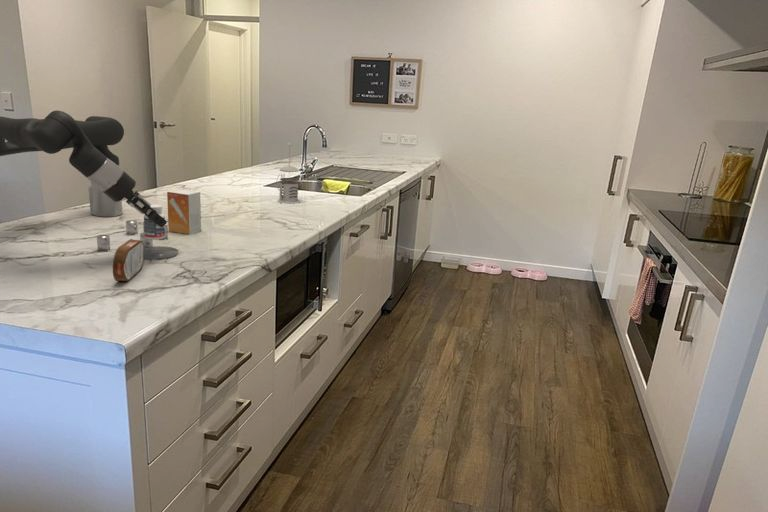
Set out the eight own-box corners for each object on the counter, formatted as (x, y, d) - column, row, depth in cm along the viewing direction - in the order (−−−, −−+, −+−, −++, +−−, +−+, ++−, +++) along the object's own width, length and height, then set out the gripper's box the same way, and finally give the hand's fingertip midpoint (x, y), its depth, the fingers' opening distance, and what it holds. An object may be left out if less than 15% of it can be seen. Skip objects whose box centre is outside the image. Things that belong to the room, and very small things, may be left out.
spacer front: (154, 239, 168) (154, 226, 167) (159, 236, 171) (159, 224, 170) (164, 240, 168) (164, 227, 167) (169, 237, 171) (169, 225, 170)
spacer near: (95, 251, 153) (94, 237, 152) (102, 248, 156) (101, 234, 155) (106, 252, 153) (105, 238, 152) (112, 249, 156) (111, 235, 155)
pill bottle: (158, 240, 149) (156, 208, 147) (140, 238, 150) (139, 206, 148) (169, 236, 154) (168, 205, 152) (152, 234, 155) (150, 203, 153)
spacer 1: (124, 234, 171) (123, 221, 170) (130, 232, 174) (129, 219, 173) (134, 235, 171) (133, 222, 169) (139, 233, 174) (139, 220, 173)
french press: (305, 202, 239) (306, 143, 232) (286, 205, 229) (287, 144, 222) (287, 198, 244) (288, 140, 237) (269, 201, 234) (269, 141, 227)
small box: (168, 231, 178) (166, 191, 174) (180, 227, 183) (179, 188, 180) (189, 235, 175) (188, 194, 172) (201, 230, 181) (200, 191, 178)
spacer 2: (138, 248, 158) (137, 234, 157) (144, 245, 161) (143, 232, 160) (149, 249, 158) (148, 235, 157) (154, 246, 161) (154, 233, 160)
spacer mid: (141, 236, 171) (140, 223, 169) (146, 233, 174) (146, 221, 173) (151, 236, 170) (150, 224, 169) (156, 234, 173) (156, 222, 172)
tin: (134, 266, 143) (132, 234, 140) (147, 267, 143) (145, 235, 141) (112, 286, 128) (109, 251, 126) (126, 286, 129) (124, 251, 126)
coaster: (127, 257, 149) (127, 255, 149) (148, 246, 160) (148, 244, 160) (166, 261, 148) (166, 259, 148) (185, 250, 159) (185, 248, 159)
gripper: (96, 185, 147) (146, 226, 157) (105, 195, 136) (158, 238, 146) (116, 165, 149) (165, 207, 159) (127, 173, 138) (178, 218, 147)
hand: (161, 222), depth 152 cm, fingers closed on pill bottle, 5 cm apart
